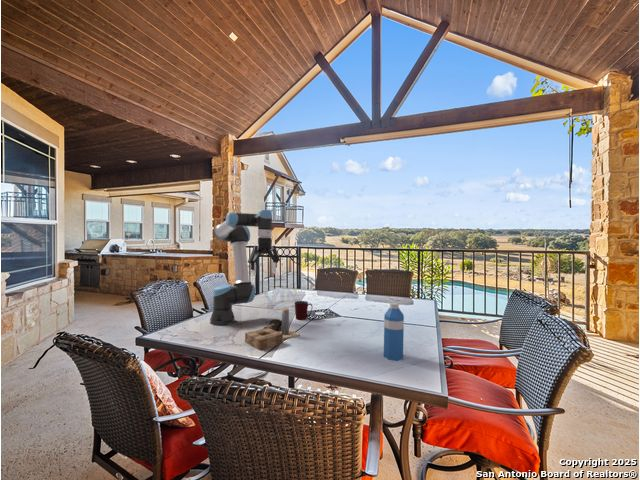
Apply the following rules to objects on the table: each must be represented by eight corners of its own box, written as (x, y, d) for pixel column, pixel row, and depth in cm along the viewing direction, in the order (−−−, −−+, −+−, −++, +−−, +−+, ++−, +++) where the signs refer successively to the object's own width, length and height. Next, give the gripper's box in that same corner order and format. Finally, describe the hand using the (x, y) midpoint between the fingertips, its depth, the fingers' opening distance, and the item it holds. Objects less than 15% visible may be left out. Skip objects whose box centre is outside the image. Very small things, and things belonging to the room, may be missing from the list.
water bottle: (380, 352, 145) (381, 301, 145) (399, 352, 146) (400, 301, 145) (386, 360, 136) (387, 306, 135) (406, 360, 137) (407, 305, 136)
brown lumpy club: (270, 335, 166) (269, 325, 166) (259, 334, 168) (259, 324, 169) (284, 327, 183) (283, 317, 183) (274, 326, 185) (274, 317, 185)
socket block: (245, 342, 157) (245, 333, 157) (267, 336, 166) (267, 327, 166) (259, 350, 147) (259, 340, 146) (282, 343, 156) (282, 333, 156)
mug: (313, 317, 206) (313, 301, 206) (311, 320, 198) (311, 304, 197) (296, 316, 208) (296, 300, 208) (293, 320, 199) (293, 303, 199)
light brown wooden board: (270, 334, 170) (270, 333, 170) (287, 330, 178) (287, 329, 178) (282, 340, 161) (282, 338, 161) (300, 335, 169) (300, 334, 169)
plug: (280, 333, 170) (280, 309, 170) (285, 332, 172) (286, 307, 172) (284, 335, 167) (284, 310, 167) (290, 333, 169) (290, 309, 169)
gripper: (249, 237, 158) (248, 277, 159) (286, 237, 175) (285, 273, 176) (241, 237, 163) (241, 275, 164) (278, 237, 181) (277, 271, 182)
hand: (264, 274), depth 170 cm, fingers open, 13 cm apart
